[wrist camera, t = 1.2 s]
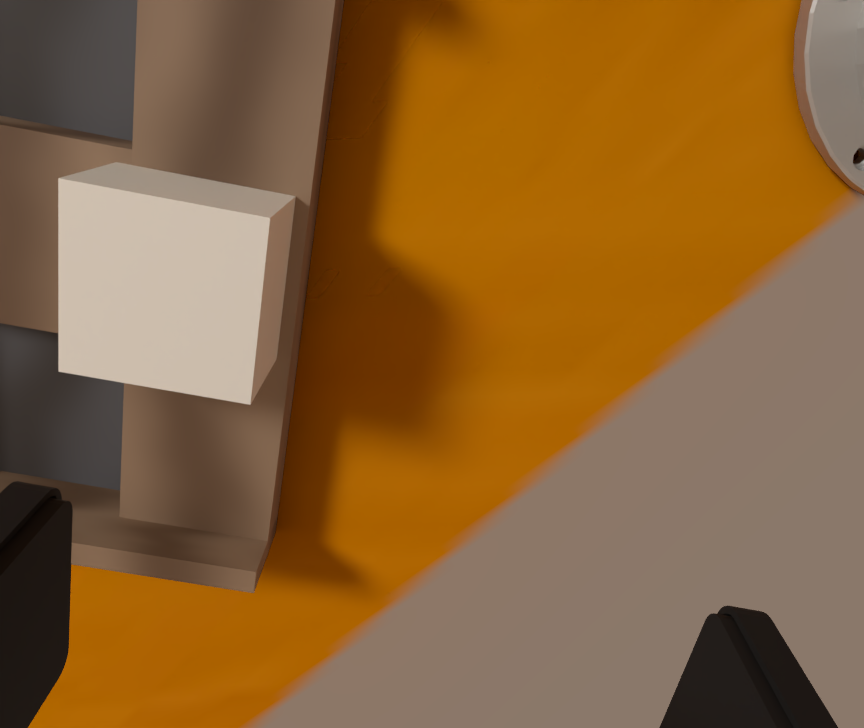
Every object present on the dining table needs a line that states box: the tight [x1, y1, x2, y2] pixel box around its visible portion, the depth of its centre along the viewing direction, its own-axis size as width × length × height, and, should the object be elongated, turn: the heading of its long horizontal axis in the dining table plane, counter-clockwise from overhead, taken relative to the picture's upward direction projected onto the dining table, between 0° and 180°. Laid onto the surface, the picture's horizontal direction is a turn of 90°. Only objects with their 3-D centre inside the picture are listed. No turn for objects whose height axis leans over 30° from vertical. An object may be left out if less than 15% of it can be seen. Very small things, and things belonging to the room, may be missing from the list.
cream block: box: [58, 162, 296, 405], centre depth 24 cm, size 6×6×4 cm
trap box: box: [0, 0, 344, 593], centre depth 25 cm, size 20×24×4 cm
